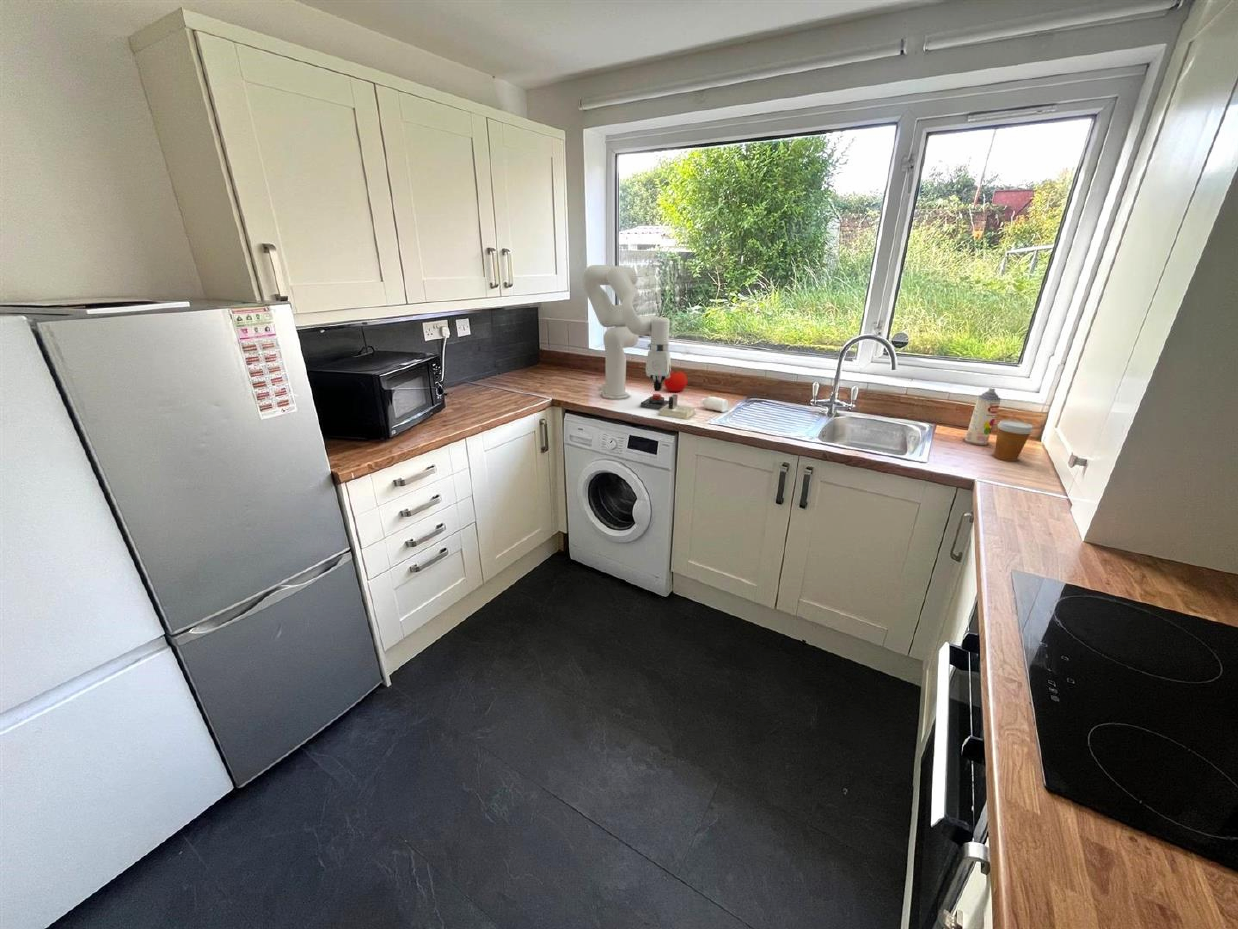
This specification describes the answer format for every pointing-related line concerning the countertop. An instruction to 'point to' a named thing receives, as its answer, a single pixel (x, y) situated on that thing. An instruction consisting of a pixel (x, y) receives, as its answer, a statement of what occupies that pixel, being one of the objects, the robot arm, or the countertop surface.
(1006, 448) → the disposable coffee cup
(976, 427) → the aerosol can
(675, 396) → the black rectangular block
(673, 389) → the tomato
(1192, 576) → the countertop surface
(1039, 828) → the countertop surface
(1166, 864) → the countertop surface
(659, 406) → the block
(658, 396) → the button
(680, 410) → the cream flat block
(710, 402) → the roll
